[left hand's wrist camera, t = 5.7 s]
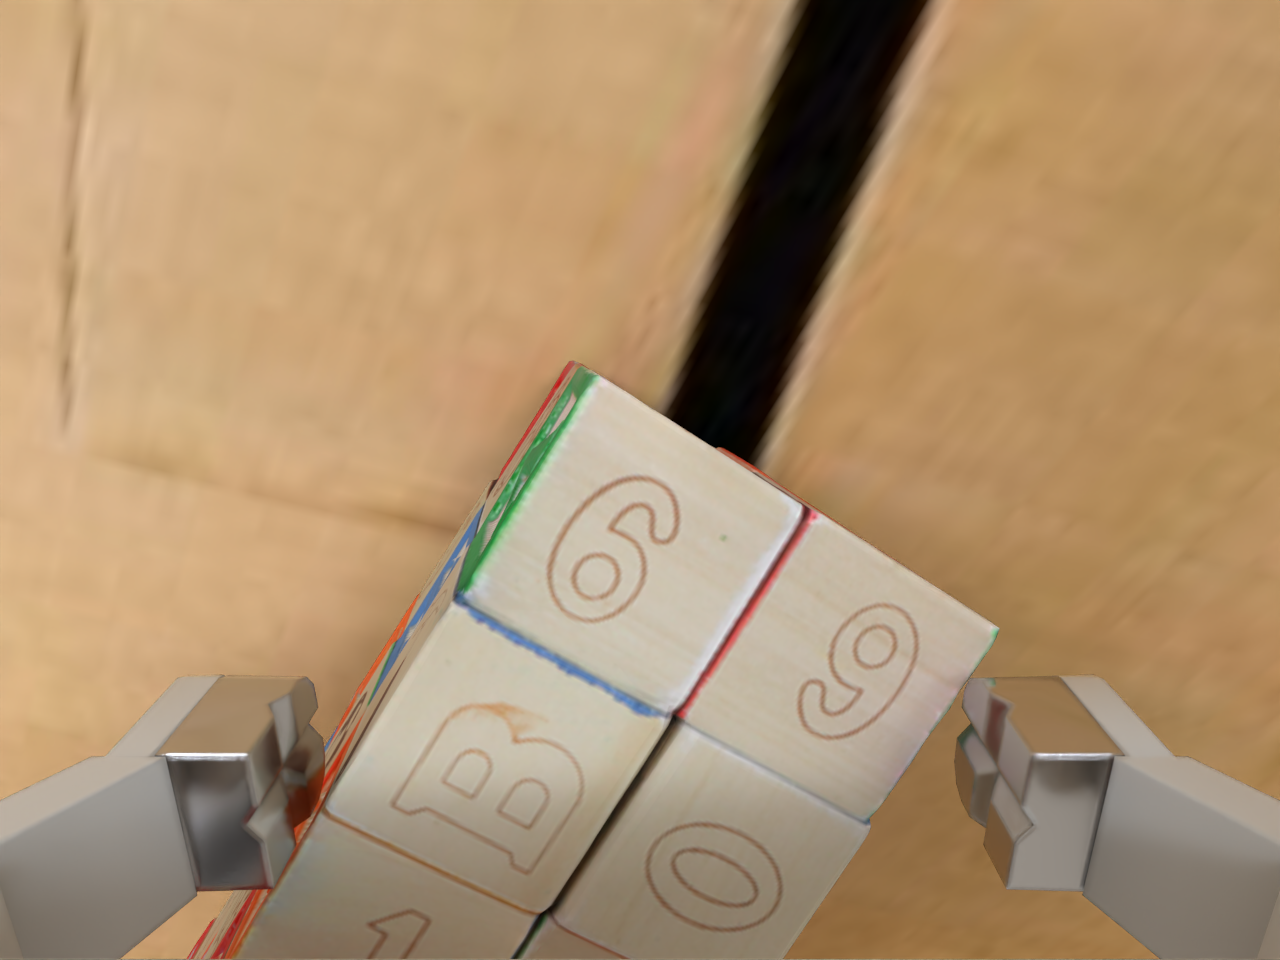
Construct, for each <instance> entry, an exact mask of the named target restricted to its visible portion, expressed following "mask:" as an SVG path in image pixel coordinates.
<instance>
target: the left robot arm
mask: <svg viewBox="0 0 1280 960" xmlns="http://www.w3.org/2000/svg"><path fill="white" fill-rule="evenodd" d="M317 708H318V704H317V699H316V694H315V688H314V684H313V683H312V682H311V681H310V680H309V679H308V678H307V677H291V676H242V675H228V676H224V675H187V676H183V677H179V678H177V679H176V680H175V681H174V682H173V683H172V684H171V685H170V687H169V688H168V689H167V690H166V691H165V692H164V693H163V694H162V695H161V696H160V697H159V698H158V700H157V701H156V702H155V703H154V704H153V705H152V706H151V707H150V708H149V709H148V710H147V711H146V713H145V714H144V715H143V716H142V717H141V718H140V719H139V720H138V721H137V722H136V723H135V724H134V726H133V727H132V728H131V729H130V730H129V731H128V732H127V733H126V734H125V735H124V736H123V737H122V739H121V740H120V741H119V742H118V743H117V744H116V745H115V746H114V747H113V748H112V749H111V750H110V752H109V753H108V754H107V755H106V756H105V757H90V758H87V759H85V760H83V761H81V762H79V763H77V764H75V765H73V766H71V767H69V768H67V769H65V770H62V771H60V772H58V773H56V774H54V775H52V776H50V777H48V778H46V779H44V780H42V781H40V782H37V783H35V784H33V785H31V786H29V787H27V788H25V789H23V790H21V791H19V792H17V793H14V794H12V795H10V796H8V797H6V798H4V799H2V800H0V960H1280V800H1278V799H1276V798H1273V797H1271V796H1269V795H1267V794H1265V793H1263V792H1261V791H1259V790H1257V789H1255V788H1253V787H1251V786H1248V785H1246V784H1244V783H1242V782H1240V781H1238V780H1236V779H1234V778H1232V777H1230V776H1228V775H1226V774H1224V773H1221V772H1219V771H1217V770H1215V769H1213V768H1211V767H1209V766H1207V765H1205V764H1203V763H1201V762H1199V761H1197V760H1194V759H1192V758H1190V757H1175V756H1174V755H1173V754H1172V753H1171V752H1170V751H1169V750H1168V749H1167V747H1166V746H1165V745H1164V744H1163V743H1162V742H1161V741H1160V740H1159V739H1158V738H1157V737H1156V735H1155V734H1154V733H1153V732H1152V731H1151V730H1150V729H1149V728H1148V727H1147V726H1146V725H1145V724H1144V722H1143V721H1142V720H1141V719H1140V718H1139V717H1138V716H1137V715H1136V714H1135V713H1134V712H1133V710H1132V709H1131V708H1130V707H1129V706H1128V705H1127V704H1126V703H1125V702H1124V701H1123V700H1122V699H1121V697H1120V696H1119V695H1118V694H1117V693H1116V692H1115V691H1114V690H1113V689H1112V688H1111V687H1110V686H1109V684H1108V683H1107V682H1106V681H1105V680H1104V679H1102V678H1100V677H1098V676H1096V675H1093V674H1090V675H1062V676H1044V677H999V678H970V679H969V681H968V684H967V686H966V688H965V691H964V697H963V703H962V708H963V710H964V712H965V714H966V715H967V717H968V719H969V720H970V722H971V724H970V725H969V726H968V727H967V728H966V729H965V730H964V731H963V732H962V733H961V734H960V735H959V736H958V737H957V743H956V751H955V760H954V763H955V774H956V784H957V788H958V791H959V794H960V798H961V801H962V803H963V805H964V807H965V809H966V811H967V813H968V815H969V817H970V818H972V819H973V820H975V821H976V822H978V823H979V824H981V825H982V826H983V827H985V828H986V832H985V838H984V844H983V845H984V847H985V849H986V851H987V853H988V855H989V857H990V858H991V860H992V862H993V864H994V866H995V868H996V870H997V872H998V874H999V876H1000V878H1001V880H1002V882H1003V883H1004V885H1005V887H1006V889H1014V890H1050V891H1083V894H1082V895H1083V896H1084V897H1086V898H1087V899H1088V900H1089V901H1090V902H1092V903H1093V904H1094V905H1095V906H1097V907H1098V908H1099V909H1100V910H1101V911H1103V912H1104V913H1105V914H1106V915H1107V916H1109V917H1110V918H1111V919H1112V920H1114V921H1115V922H1116V923H1117V924H1118V925H1120V926H1121V927H1122V928H1123V929H1125V930H1126V931H1127V932H1128V933H1129V934H1131V935H1132V936H1133V937H1134V938H1135V939H1137V940H1138V941H1139V942H1140V943H1142V944H1143V945H1144V946H1145V947H1146V948H1148V949H1149V950H1150V951H1151V952H1153V953H1154V954H1155V955H1156V956H1157V957H1159V958H1160V959H120V958H121V957H123V956H124V955H125V954H126V953H128V952H129V951H130V950H131V949H132V948H134V947H135V946H136V945H137V944H139V943H140V942H141V941H142V940H143V939H145V938H146V937H147V936H148V935H150V934H151V933H152V932H153V931H154V930H156V929H157V928H158V927H159V926H161V925H162V924H163V923H164V922H165V921H167V920H168V919H169V918H170V917H171V916H173V915H174V914H175V913H176V912H178V911H179V910H180V909H181V908H182V907H184V906H185V905H186V904H187V903H189V902H190V901H191V900H192V899H193V898H195V897H196V896H197V891H229V890H263V889H274V887H275V885H276V883H277V881H278V879H279V878H280V876H281V874H282V872H283V870H284V868H285V866H286V864H287V862H288V860H289V858H290V856H291V854H292V852H293V850H294V849H295V847H296V839H295V833H294V828H295V827H296V826H298V825H299V824H301V823H302V822H304V821H305V820H307V819H308V818H309V817H311V815H312V813H313V811H314V809H315V807H316V805H317V803H318V801H319V798H320V794H321V790H322V785H323V781H324V776H325V750H324V743H323V738H322V737H321V735H320V734H319V733H318V732H317V731H316V730H315V729H314V728H313V727H312V726H311V725H310V724H309V722H310V720H311V718H312V717H313V715H314V713H315V712H316V710H317Z"/></svg>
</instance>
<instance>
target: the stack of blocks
mask: <svg viewBox="0 0 1280 960" xmlns="http://www.w3.org/2000/svg"><path fill="white" fill-rule="evenodd" d="M998 631H999V628H998V627H997V626H996V625H994V624H993V623H992V622H990V621H989V620H987V619H986V618H984V617H983V616H981V615H980V614H978V613H976V612H975V611H973V610H972V609H970V608H969V607H967V606H965V605H964V604H962V603H961V602H959V601H958V600H956V599H954V598H953V597H951V596H950V595H948V594H947V593H945V592H943V591H942V590H940V589H939V588H937V587H936V586H934V585H933V584H931V583H930V582H928V581H927V580H925V579H923V578H922V577H920V576H919V575H917V574H916V573H914V572H913V571H911V570H910V569H908V568H907V567H905V566H903V565H902V564H901V563H899V562H898V561H896V560H895V559H893V558H892V557H890V556H888V555H887V554H885V553H884V552H882V551H880V550H879V549H877V548H876V547H874V546H873V545H871V544H869V543H868V542H866V541H865V540H863V539H862V538H860V537H859V536H857V535H856V534H854V533H853V532H851V531H850V530H848V529H847V528H845V527H844V526H842V525H841V524H839V523H838V522H836V521H835V520H833V519H832V518H830V517H829V516H827V515H826V514H824V513H823V512H821V511H820V510H818V509H817V508H815V507H814V506H812V505H810V504H809V503H807V502H806V501H804V500H803V499H801V498H800V497H798V496H796V495H795V494H793V493H792V492H790V491H789V490H787V489H786V488H784V487H783V486H781V485H780V484H778V483H777V482H775V481H774V480H773V479H771V478H770V477H769V476H767V475H766V474H765V473H763V472H762V471H760V470H759V469H757V468H756V467H754V466H753V465H751V464H749V463H748V462H746V461H744V460H743V459H741V458H739V457H738V456H736V455H734V454H732V453H731V452H729V451H727V450H725V449H724V448H720V447H718V448H714V447H712V446H710V445H708V444H707V443H705V442H704V441H702V440H701V439H699V438H698V437H696V436H694V435H693V434H691V433H690V432H688V431H687V430H685V429H684V428H682V427H680V426H679V425H677V424H676V423H674V422H673V421H671V420H670V419H668V418H666V417H665V416H663V415H662V414H660V413H659V412H657V411H655V410H654V409H652V408H651V407H649V406H648V405H646V404H644V403H643V402H641V401H640V400H638V399H637V398H635V397H634V396H632V395H630V394H629V393H627V392H626V391H624V390H623V389H621V388H620V387H618V386H616V385H615V384H613V383H612V382H610V381H609V380H607V379H606V378H604V377H602V376H601V375H599V374H597V373H596V372H594V371H592V370H590V369H588V368H587V367H585V366H584V365H582V364H581V363H578V362H575V361H569V363H568V364H567V366H566V367H565V369H564V370H563V372H562V373H561V375H560V377H559V378H558V380H557V382H556V383H555V385H554V387H553V388H552V390H551V392H550V393H549V395H548V397H547V398H546V400H545V402H544V403H543V405H542V406H541V408H540V410H539V411H538V413H537V414H536V416H535V418H534V419H533V421H532V422H531V424H530V426H529V427H528V429H527V431H526V432H525V434H524V436H523V437H522V439H521V440H520V442H519V443H518V445H517V446H516V448H515V450H514V451H513V453H512V455H511V457H510V458H509V460H508V461H507V463H506V464H505V466H504V467H503V469H502V471H501V473H500V476H499V478H498V479H497V480H493V481H490V482H489V484H488V485H487V487H486V488H485V490H484V491H483V493H482V495H481V496H480V498H479V499H478V501H477V502H476V504H475V506H474V507H473V509H472V510H471V512H470V513H469V515H468V517H467V518H466V520H465V521H464V523H463V525H462V526H461V528H460V529H459V531H458V532H457V534H456V536H455V537H454V539H453V540H452V542H451V544H450V545H449V547H448V548H447V550H446V551H445V553H444V555H443V556H442V558H441V559H440V561H439V563H438V564H437V566H436V567H435V569H434V571H433V572H432V574H431V575H430V577H429V578H428V580H427V582H426V584H425V585H424V587H423V589H422V591H421V592H420V593H419V594H418V596H417V597H416V599H415V600H414V602H413V603H412V605H411V606H410V608H409V609H408V611H407V612H406V614H405V615H404V617H403V618H402V620H401V622H400V623H399V625H398V626H397V628H396V630H395V631H394V633H393V634H392V636H391V637H390V639H389V641H388V642H387V644H386V645H385V647H384V648H383V650H382V652H381V653H380V655H379V656H378V658H377V659H376V661H375V663H374V664H373V666H372V667H371V669H370V671H369V672H368V674H367V675H366V677H365V678H364V680H363V682H362V683H361V684H360V686H359V687H358V689H357V691H356V692H355V694H354V696H353V698H352V700H351V702H350V704H349V706H348V708H347V710H346V712H345V714H344V716H343V718H342V720H341V722H340V724H339V725H338V727H337V728H336V730H335V732H334V733H333V735H332V736H331V738H330V739H329V741H328V743H327V744H326V746H325V747H324V750H325V776H324V781H323V785H322V790H321V794H320V798H319V801H318V803H317V805H316V807H315V809H314V811H313V813H312V815H311V817H309V818H308V819H307V820H305V821H304V822H302V823H301V824H299V825H298V826H296V827H295V828H294V833H295V839H296V847H295V849H294V850H293V852H292V854H291V856H290V858H289V860H288V862H287V864H286V866H285V868H284V870H283V872H282V874H281V876H280V878H279V879H278V881H277V883H276V885H275V887H274V889H263V890H234V891H233V893H232V894H231V896H230V898H229V899H228V901H227V902H226V904H225V906H224V907H223V909H222V910H221V912H220V914H219V915H218V917H217V918H215V919H213V920H212V921H211V922H210V924H209V925H208V927H207V928H206V930H205V931H204V933H203V934H202V936H201V937H200V939H199V940H198V942H197V943H196V945H195V946H194V948H193V950H192V951H191V953H190V954H189V956H188V957H187V959H783V958H784V957H785V955H786V954H787V952H788V951H789V949H790V948H791V946H792V945H793V944H794V942H795V941H796V939H797V938H798V936H799V935H800V933H801V932H802V931H803V929H804V928H805V926H806V925H807V923H808V922H809V920H810V919H811V917H812V916H813V915H814V913H815V912H816V910H817V909H818V907H819V906H820V904H821V903H822V901H823V900H824V899H825V897H826V896H827V894H828V893H829V891H830V890H831V888H832V887H833V885H834V884H835V883H836V881H837V880H838V878H839V877H840V875H841V874H842V872H843V871H844V869H845V868H846V866H847V865H848V864H849V862H850V861H851V859H852V858H853V856H854V855H855V853H856V852H857V850H858V849H859V848H860V846H861V845H862V843H863V842H864V840H865V838H866V837H867V835H868V833H869V832H870V828H871V824H870V819H869V818H870V817H871V816H872V815H873V814H874V813H875V812H876V811H877V810H878V809H879V807H880V806H881V805H882V803H883V802H884V801H885V799H886V798H887V797H888V795H889V794H890V792H891V791H892V790H893V788H894V787H895V785H896V784H897V782H898V781H899V780H900V778H901V777H902V775H903V774H904V772H905V771H906V770H907V768H908V767H909V765H910V764H911V762H912V761H913V759H914V758H915V756H916V755H917V753H918V751H919V750H920V748H921V747H922V745H923V744H924V742H925V741H926V739H927V738H928V736H929V735H930V734H931V732H932V731H933V730H934V728H935V727H936V726H937V724H938V723H939V722H940V720H941V719H942V718H943V717H944V715H945V714H946V713H947V712H948V710H949V709H950V707H951V705H952V703H953V702H954V700H955V698H956V696H957V694H958V692H959V691H960V689H961V688H962V687H963V686H964V685H965V683H966V682H967V681H968V679H969V678H970V676H971V675H972V673H973V672H974V671H975V669H976V668H977V666H978V665H979V663H980V662H981V661H982V659H983V658H984V656H985V655H986V654H987V652H988V651H989V649H990V648H991V647H992V645H993V643H994V641H995V639H996V637H997V634H998Z"/></svg>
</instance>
